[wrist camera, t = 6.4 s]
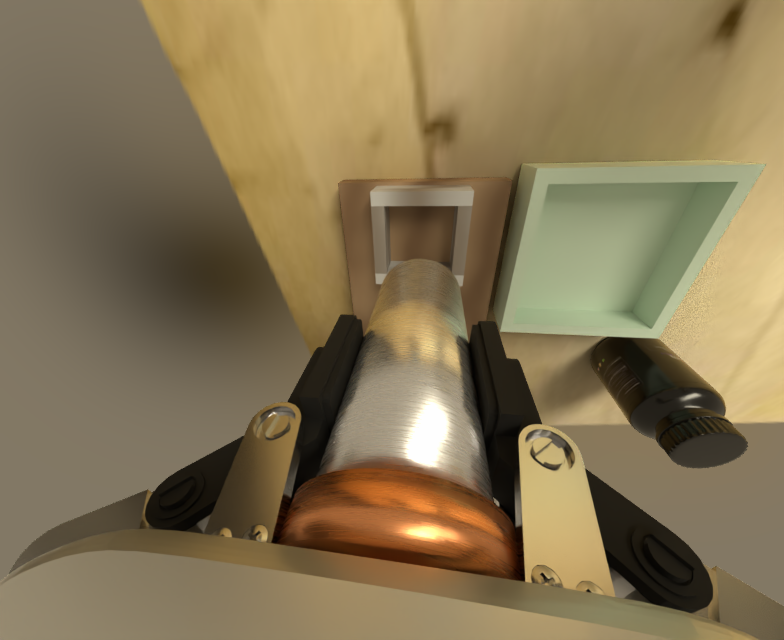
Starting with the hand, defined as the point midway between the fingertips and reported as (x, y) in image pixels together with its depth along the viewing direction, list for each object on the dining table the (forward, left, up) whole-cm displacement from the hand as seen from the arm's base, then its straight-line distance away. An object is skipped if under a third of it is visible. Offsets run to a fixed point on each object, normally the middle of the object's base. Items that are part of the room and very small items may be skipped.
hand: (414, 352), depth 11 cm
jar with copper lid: (0, 0, -4) cm, 4 cm away
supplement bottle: (-23, +14, -19) cm, 33 cm away
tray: (-15, +2, -19) cm, 24 cm away
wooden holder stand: (0, +4, -19) cm, 19 cm away
